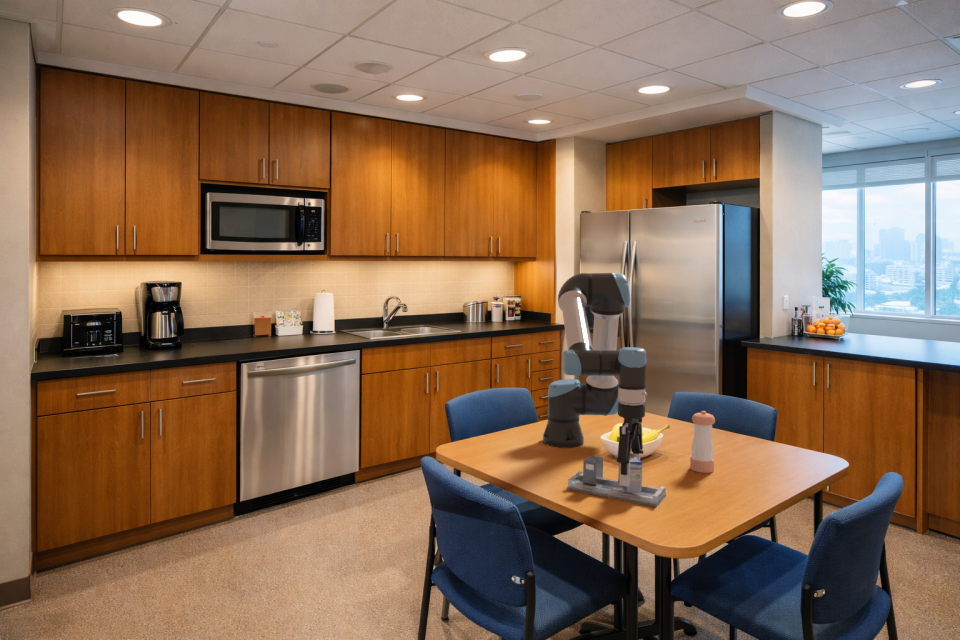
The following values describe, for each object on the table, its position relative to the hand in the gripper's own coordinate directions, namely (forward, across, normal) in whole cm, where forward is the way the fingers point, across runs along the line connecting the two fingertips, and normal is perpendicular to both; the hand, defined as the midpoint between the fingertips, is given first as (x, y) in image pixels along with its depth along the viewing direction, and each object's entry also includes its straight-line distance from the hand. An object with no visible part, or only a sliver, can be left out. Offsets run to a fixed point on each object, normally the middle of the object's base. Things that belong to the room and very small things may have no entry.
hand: (629, 480), depth 175 cm
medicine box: (+2, 0, 0) cm, 2 cm away
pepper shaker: (+5, +35, -13) cm, 38 cm away
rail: (+4, 0, +4) cm, 6 cm away
